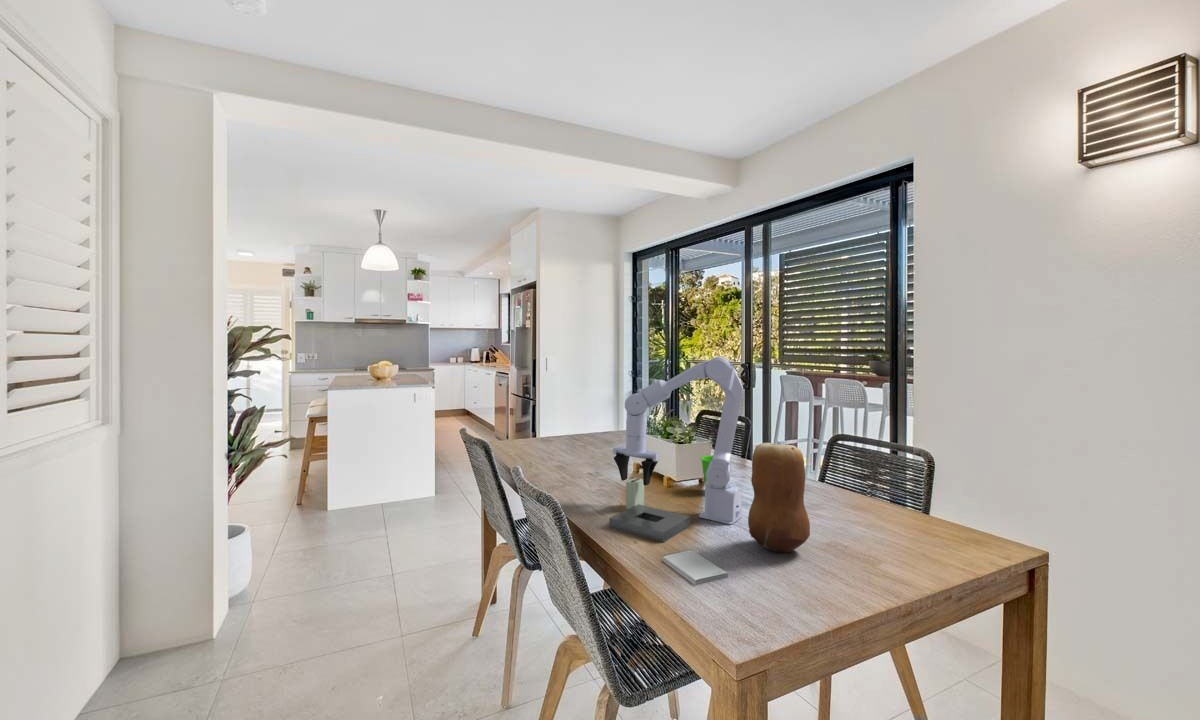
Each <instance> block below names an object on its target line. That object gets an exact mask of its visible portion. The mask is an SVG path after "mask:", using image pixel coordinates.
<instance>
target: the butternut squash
mask: <svg viewBox="0 0 1200 720" xmlns="http://www.w3.org/2000/svg"><path fill="white" fill-rule="evenodd" d="M805 468H806V466H805V460H804V455H803V453H802V452H801V450H800V449H799V448H798V447H797V446H795V445H791V444H781V443H780V444H779V443H771V442H762V443H760V444H757V445H756V446H755V448H754V450H753V453H752V461H751V479H750V481H751V486H752V488H753V489H752V490H753V499H752V502H751V506H750V508H749V511H748V517H747V522H748V523H747V525H748V531H749V534H750V537H751V538H752V539H753V540H754V541H756V543H757V544H758V545H759V546H761V547H763V548H765V549H768V550H770V551H773V552H774V551H775V552H776V553H780V554H785V553H791V552H792V551H794V550H796V549H798V548H800V547H801V546H802V545H803V544H805V543H806V542H807V541H808V538H809V537H810V536H811V523H810V518H809V515H808V512H807V510H806V507H805V500H804V499H805V498H804V495H805V486H806V469H805Z"/></svg>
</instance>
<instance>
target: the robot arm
mask: <svg viewBox="0 0 1200 720" xmlns="http://www.w3.org/2000/svg"><path fill="white" fill-rule="evenodd" d="M739 377H740V376H739V375H738V374H737V371H736V367H735V366H734V365H733V364H732V363H731V362H730V361H729V360H728V359H727V358H726V357H724V356H715V357H713V358H711V359H708V360H706V361H701V362H700V363H697V364H694V365H692V366H690V367H689V368H688V369H687V368H686V369H685V370H684V371H682V372H680V373H679V374H677V375H675V376H673V377H671V378H670V379H669V380H666V381H665V380H662V379H658V380H656V379H655V380H652V381H651V384H649V385H648V386H646V387H644V388H639V389H637V390H636V393H632V394H630V395H629V396H627V398H626V399H625V401H624V409H625V411H626V419H625V421H626V422H625V423H626V424H625V446H623V447H621V446H614V447H613V449H612V454H613V455H615V456H613V460H614V462H615V463H616V466H617V469H618V471H619V475H620V480H621V481H626V480H627V479H628V474H629V473H628V470H629V469H628V468H629V462H630V457H632V458H637V459H642V461H641V467H642V473H643V475H642V476H643V478H642V479H643V484H644V486H648V485H650V482H651V478H652V475H653V472H654V470H655V468H656V466H657V464H658V463H659V461H660V453H657V452H653V451H650V450H647V418H646V417H647V411H646V410H647V409H648V408H653V407H654V406H657V405H659V404H660V403H662V402H664V401H666V400H668V399H670V397H671V394H672V391H674V390H676V389H678V388H680V387H682V386H684V385H686V384H688V383H690V382H692V381H694V380H698V379H699V380H706V379H707V378H709V380H711V381H712V382H713V383H716V384H717V385H718V387H720V389H721V390H722V391H723V392H724V401H723V405H722V411H721V414H720V420H719V425H718V431H717V436H716V442H715V445H714V446H715V447H714V451H713V454H712V456H713V459H712V460H711V461H710V463H709V466H708V469H707V471H706V479H707V481H706V482H705V481H704V511H703V512H702V513H700V514H699V515H698V517H699V518H702V519H705V520H711V521H715V522H718V523H723V524H727V525H733V524H734V523H736V522H737V521H739V520H740V519H741V518H743V514H742V490H741V489H739V488H738V487H734V486H733V483H732V481H731V480H730V479H731V474H732V466H731V463H730V461H731V455H732V449H733V444H734V440H735V434H736V430H737V425H738V419H739V415H740V409H741V404H742V401H743V400H742V399H743V394H744V387H743V384H742V382H741V380H740V378H739Z"/></svg>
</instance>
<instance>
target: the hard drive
mask: <svg viewBox="0 0 1200 720" xmlns="http://www.w3.org/2000/svg"><path fill="white" fill-rule="evenodd" d="M661 559H662V562H664V563H665V564H666V565H668V566H669V567H670V568H671V569H673V570H674V571H676V572H677V573H678V574H680V575H681V576H682V577H684V578H685V579H687V580H688V581H689V582H690V583H692V584H693V585H694V586H697V585H702V584H706V583H711V582H715V581H718V580H723V579H724V580H725V579H728V578H729V574H728V572H727V571H725V570H723V568H720V567H719V566H718V565H715V564H714V563H713V562H711V561H709V560H708V559H706V558H705V557H703V556H702V555H700V554H698V553H697V552H696V551H694V550H687V551H682V552H677V553H671V554H669V555H668V554H667V555H665V556H662V558H661Z"/></svg>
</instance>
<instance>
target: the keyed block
mask: <svg viewBox="0 0 1200 720" xmlns="http://www.w3.org/2000/svg"><path fill="white" fill-rule="evenodd" d="M625 488H626V489H625V490H626V491H625V510H627V509H629V508H631V507H633V506H636V505H638V504H640V505H644V506H645V485H644V484H643V478H637V477H635V478H632V479H629V480H628V481H626V482H625Z"/></svg>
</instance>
